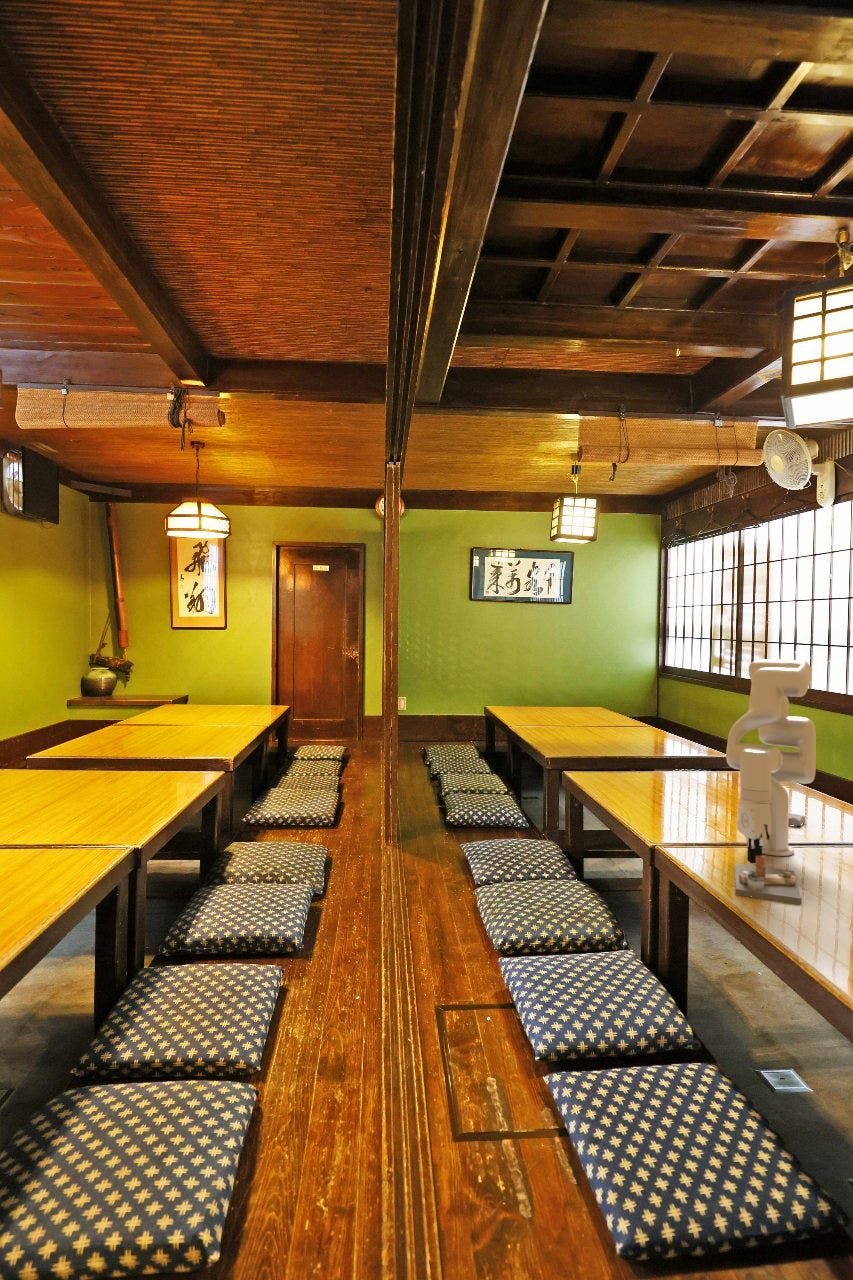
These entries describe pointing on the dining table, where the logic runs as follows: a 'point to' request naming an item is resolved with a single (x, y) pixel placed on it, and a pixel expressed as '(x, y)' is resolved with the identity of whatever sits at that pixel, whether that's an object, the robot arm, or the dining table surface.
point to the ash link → (769, 878)
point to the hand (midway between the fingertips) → (754, 862)
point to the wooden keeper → (754, 880)
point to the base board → (768, 886)
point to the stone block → (796, 819)
